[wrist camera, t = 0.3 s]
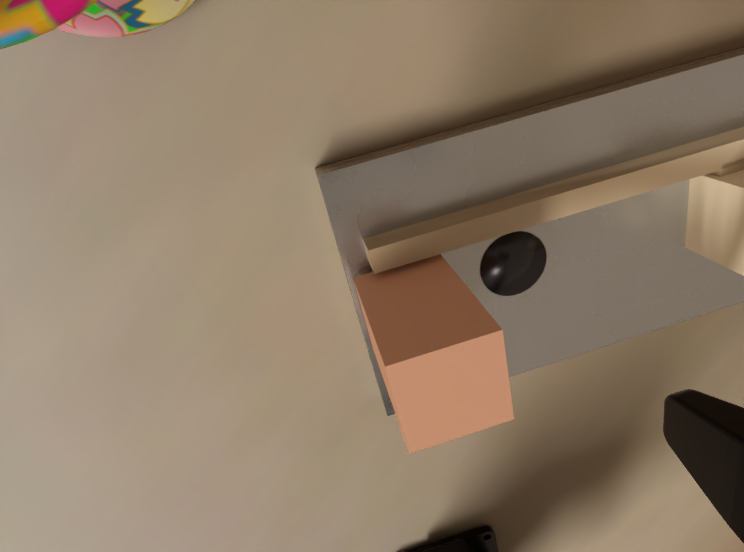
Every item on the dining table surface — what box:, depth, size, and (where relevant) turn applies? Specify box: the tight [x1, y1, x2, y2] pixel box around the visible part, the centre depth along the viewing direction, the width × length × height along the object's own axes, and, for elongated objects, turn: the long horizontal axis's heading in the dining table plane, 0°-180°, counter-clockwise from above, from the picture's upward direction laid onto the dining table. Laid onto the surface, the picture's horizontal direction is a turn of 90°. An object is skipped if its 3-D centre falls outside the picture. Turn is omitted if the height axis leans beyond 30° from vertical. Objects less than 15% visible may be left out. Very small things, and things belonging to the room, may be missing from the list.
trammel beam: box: [363, 127, 744, 276], centre depth 18 cm, size 5×18×6 cm, turn 103°
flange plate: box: [315, 47, 744, 416], centre depth 22 cm, size 12×20×1 cm, turn 103°
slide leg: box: [353, 254, 514, 454], centre depth 18 cm, size 4×4×6 cm
